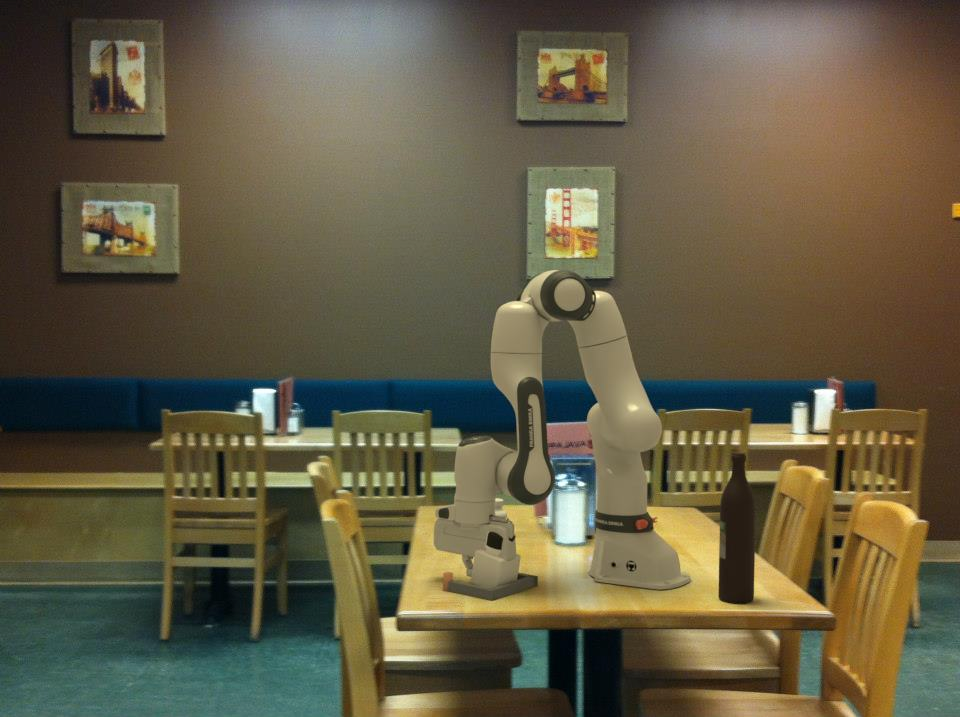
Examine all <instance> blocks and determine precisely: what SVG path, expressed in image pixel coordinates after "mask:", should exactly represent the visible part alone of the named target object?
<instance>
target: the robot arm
mask: <svg viewBox="0 0 960 717" xmlns="http://www.w3.org/2000/svg"><path fill="white" fill-rule="evenodd" d="M562 321H566V322H568V324H570V326H571V328H572V330H573V332H574V335H575V338H576V343H577V348H578V349H577V350H578V352H579V357H580V359H581V364H582V369H583V372H584V376H585V379H586V382H587V384H588V385H589V387H590V389H591V391H592V392H593V394H594V397H595V399H596V401H597V403H595V404H594V405H592V407H591V408H590V409H589V411H588V413H587V418H586V424H587V428H588V431H589V433H590V438H591V442H592V443H591V444H592V445H591V446H592V451H593V457H594V463H595V469H596V470H595V471H596V481H597V482H596V483H597V484H596V510H595V511H594V531H595V532H594V533H595V540H594V548H593V554H592V560H591V564H590V568H589V570H588V574H589V575H590V576H591V577H593V578H594V581H595V582H598V583H605V584H613V585H620V586H626V587H627V586H628V587H636V588H643V589H651V590H659V591H660V590H670V589H671V590H672V589H675V588H678V587H681V586H684V585H687V584H688V583H690V582H691V574H689V573H687V572H683V571H681V564H680V563H681V562H680V557H679V554H678V552H677V550H676V549H675V548H673V546H672V545H671V544H669V543H668V542H667V541H666V540H665V539H664V538H663V537H661V536H660V534H659V533H657V532H656V530H655V526H654V524H655V523H658V520H657V519H658V517H657V516H655V517H652V516H651V515H650V514H649V512H648V476H647V473H646V471H645V469H644V465H643V461H642V460H643V459H642V456H641V453H642V452H647V451H650V450H651V449H653V448H654V447H655V446H657V444H658V443H659V441H660V439H661V437H662V433H663V424H662V421H661V418H660V417H659V415H658V414H657V413H656V412H655V410H654V408H653V406H652V404H651V402H650V399H649V397H648V394H647V392H646V390H645V388H644V386H643V384H642V381H641V380H640V377H639V374H638V371H637V368H636V365H635V362H634V359H633V354H632V350H631V347H630V342H629V337H628V334H627V330H626V327H625V324H624V321H623V318H622V314H621V312H620V310H619V308H618V305H617V302H616V300H615V299H614V297H613V295H611V294H610V293H609V292H606V291H602V290H593V289H592V288H591V286H589V284H588V283H587V282H586V280H585V279H584V278H583V276H581V275H579V273H576V272H575V271H572V270H568V269H553V270H547V271H544V272H542V273H538V274H536V275H533V276H532V277H530V278H529V279H528V280H527V281H526V283H525V284H524V286H523V288H522V290H521V292H520V294H518V297H517V298H516V299H515V300H513V301H509V302H506V303H504V304H502V305H500V306H499V307H498V309H497V310H496V313H495V317H494V322H493V327H492V334H491V344H490V371H491V379H492V382H493V383H494V385H495V387H496V388H497V389H498V390H499V391H500V392H501V393H502V395H504V397H506V399H507V400H508V401H509V403H510V405H511V406H512V408H513V410H514V414H515V420H516V441H517V442H516V448H517V450H515V449H512V448H510V447H507V446H505V445H502V444H501V443H499V442H498V441H497V440H495V439H493V437H491V436H490V435H489V436H488V435H477V436H476V435H474V436H471V437H467V438H464V439H463V440H461V441H460V442H459V443H458V445H457V447H456V453H455V460H454V482H455V486H456V487H455V493H454V499H453V503H450V504H448V505H444V506H441V507H438V508H436V509H435V511H434V512H435V513H434V514H435V518H436V520H435V522H434V526H433V547H434V548H435V550H436V551H441V552H446V553H450V554H456V555H461V560H462V563H463V565H464V568H466V569H465V570H466V577H469V578H471V575H472V569H473V563H474V562H473V560H474V556H475V551H476V550H479V549H482V550H484V551H486V548H485V544H486V537H487V532H495V533H497V534H499V535H500V536H502V537H503V542H502V549H501V554H500V553H499V555H498V556H499V557H501V558H503V559H505V560H506V561H511V560H513V559H515V557H516V554H517V542H516V538H515V539H514V541H513V542H511V541H509V539H508V538H509V537H510V539H512V538H513V536H516V534H515V525H514V523H513V522H512V521H511V520H510V519H509V517H507V518H506V517H499V516H495V498H497V497H496V496H497V495H498V494H504V495H506V496H509V497H511V498H514V499H515V500H517V501H518V502H520V503H522V504H524V505H528V506H531V505H532V506H534V505H537V504H540V503H542V502H544V501H545V500H546V499H547V498H548V497H549V496H550V495H551V494H552V492H553V490H554V487H555V483H556V475H555V469H554V467H553V464H552V460H551V458H550V455H549V446H548V427H547V425H548V423H547V408H546V406H547V405H546V398H545V389H544V385H543V384H544V383H543V370H542V369H543V368H542V366H543V365H542V363H543V361H542V360H543V357H542V356H543V354H542V353H543V337H544V332H545V329H546V328H547V326H548V325H549V324H550V323H552V322H554V323H557V322H562Z"/></svg>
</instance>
